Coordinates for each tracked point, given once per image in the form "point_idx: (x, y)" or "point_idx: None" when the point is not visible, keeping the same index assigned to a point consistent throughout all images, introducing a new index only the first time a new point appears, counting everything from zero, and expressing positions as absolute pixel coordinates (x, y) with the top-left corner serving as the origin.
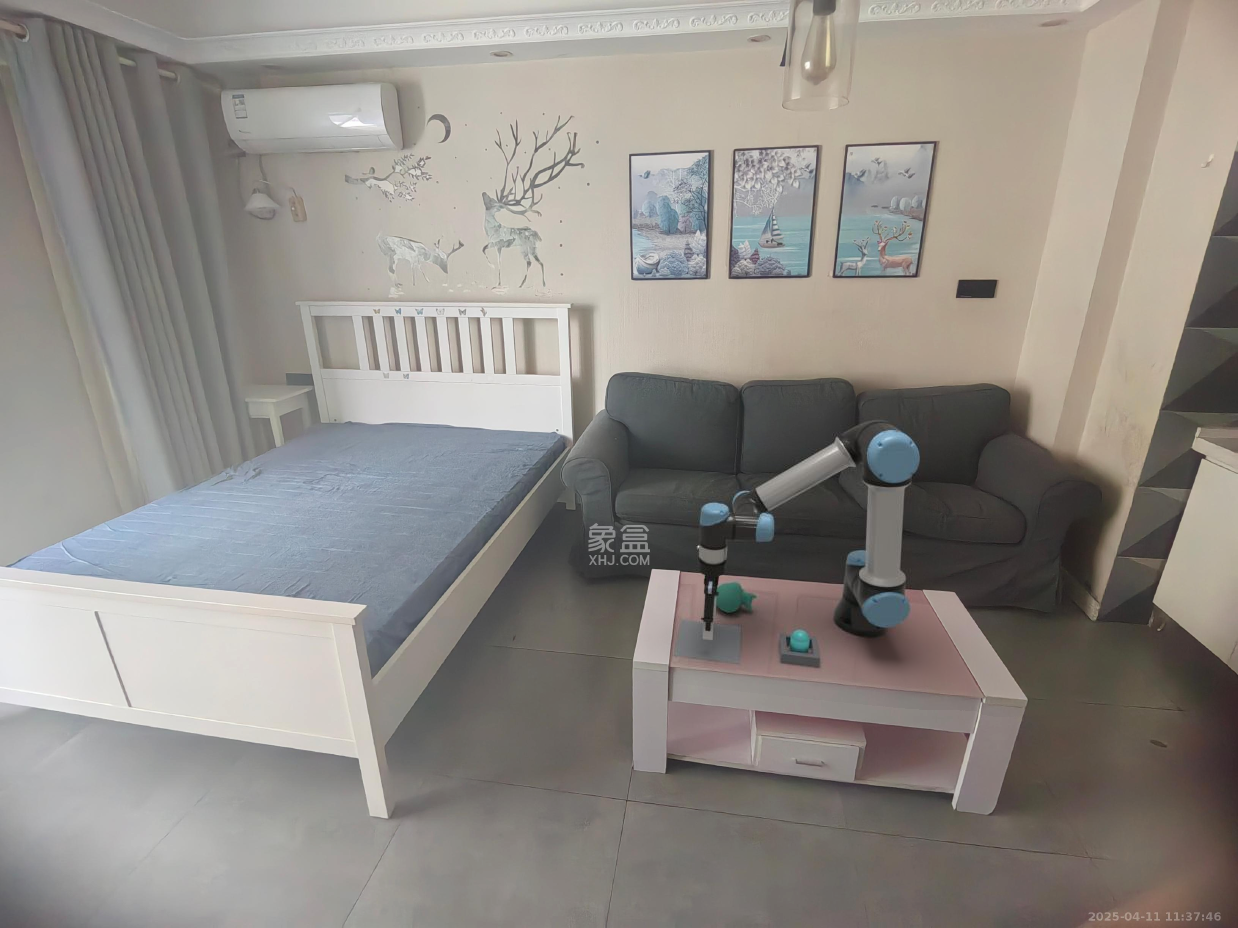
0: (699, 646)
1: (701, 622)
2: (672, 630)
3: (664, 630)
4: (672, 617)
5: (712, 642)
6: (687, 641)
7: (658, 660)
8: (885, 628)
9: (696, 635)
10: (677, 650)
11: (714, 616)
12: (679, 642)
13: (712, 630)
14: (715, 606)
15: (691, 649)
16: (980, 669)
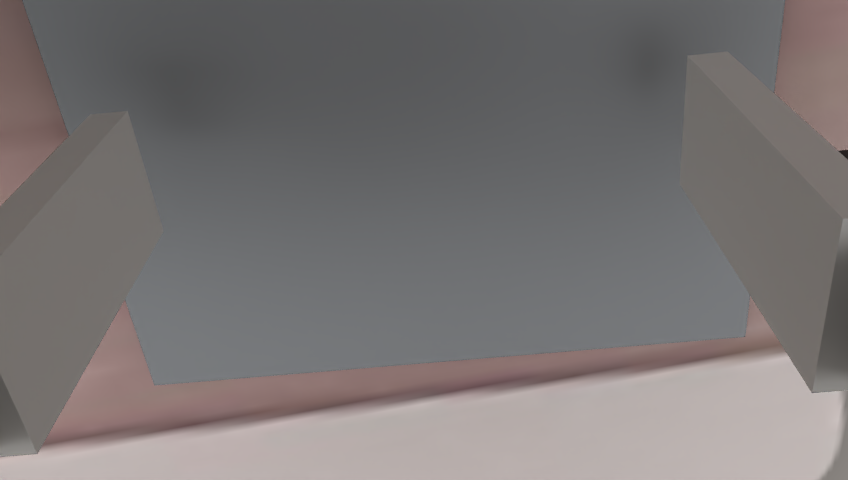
0: (550, 148)
1: None
2: (345, 410)
3: (369, 462)
4: (143, 448)
5: (438, 26)
6: (493, 270)
7: (812, 418)
8: None
9: (359, 211)
10: (661, 321)
11: (126, 127)
12: (528, 330)
13: (794, 117)
14: (55, 199)
15: (620, 212)
16: None
